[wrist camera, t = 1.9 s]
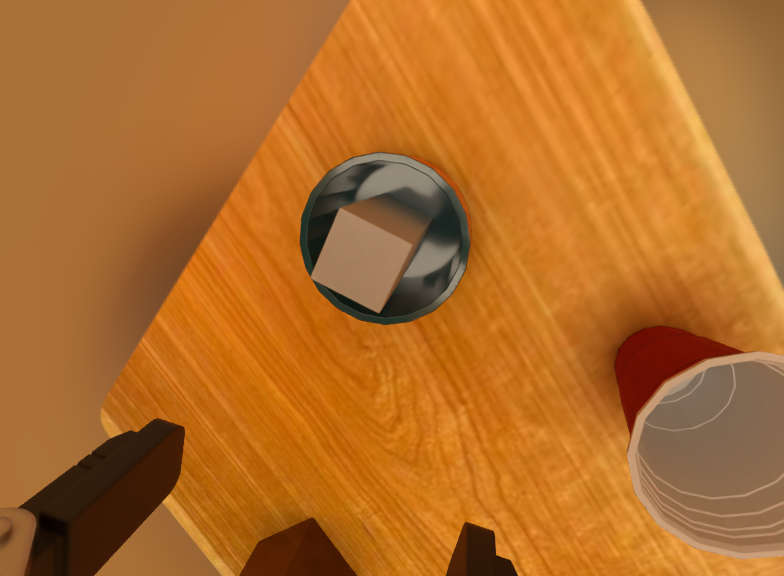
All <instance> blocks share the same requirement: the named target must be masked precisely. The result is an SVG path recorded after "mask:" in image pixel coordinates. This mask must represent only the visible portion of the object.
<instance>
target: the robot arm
mask: <svg viewBox="0 0 784 576" xmlns="http://www.w3.org/2000/svg"><path fill="white" fill-rule="evenodd" d="M184 437H185V429H184V427H183V426H180V425H177V424H174V423H171V422H168V421H165V420H162V419H159V418H157V419H154V420H153V421H151V422H150V423H149V424H147V425H146V426H145V427H144V428H142V429H141V430H140V431H139V432H134V431H131V430H130V431H128V432H125V433H123V434H120V435H118V436H115V437H113V438H111V439H109V440H107V441H106V442H105V443H103V444H102V445H101V446H99V447H98V448H97V449H95V450H94V451H93V452H92V454H91V455H88V456H86V457H85V458H84V459H82V460H81V461H79V463H78V464H77V465H76V466H73V467H72V468H70V469H69V470H68V471H66V472H65V473H64V474H62V475H61V476H60V477H58V478H57V479H56V480H54V481H53V482H52V483H50V484H49V485H48V486H46V487H45V488H44V489H42V490H41V491H40V492H39V493H37V494H36V495H35V496H33V497H32V498H31V499H29V500H28V501H27V502H25V503H24V504H22V505H21V506H20V507H18V508H1V509H0V576H94V575H95V574H96V573H97V572H98V571H99V570H100V568H101V567H102V566H103V565H104V564H105V563H106V562H107V561H108V560H109V559H110V558H111V556H113V554H114V553H115V552H116V551H117V550H118V549H119V548H120V547H121V546H122V545H123V543H125V541H126V540H127V539H128V538H129V537H130V536H131V535H132V534H133V533H134V532H135V531H136V530H137V528H138V527H139V526H140V525H141V524H142V523H143V522H144V521H145V520H146V519H147V518H148V517H149V515H150V514H151V513H152V512H153V511H154V510H155V509H156V508H157V507H158V506H159V504H161V502H162V501H163V500H164V499H165V498H166V497H167V496H168V495H169V494H170V492H171V491H172V490H173V488H174V486H175V485H176V483H177V480H178V478H179V475H180V471H181V464H182V455H183V446H184ZM446 576H518V575H517V573H516V571H515V568H514V566H513V564H512V562H511V560H508V559H505V558H502V557H499V556H496V547H495V534H494V531H492V530H489V529H486V528H483V527H480V526H477V525H474V524H471V523H468V522H465V523H464V525H463V528H462V530H461V533H460V536H459V539H458V541H457V544H456V547H455V550H454V552H453V555H452V558H451V561H450V564H449V567H448V570H447V574H446Z"/></svg>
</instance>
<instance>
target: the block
mask: <svg viewBox="0 0 784 576" xmlns="http://www.w3.org/2000/svg"><path fill="white" fill-rule="evenodd" d="M432 220H433V218H432V217H430V216H428V215H426V214H424V213H422V212H420V211H418V210H416V209H414V208H412V207H410V206H408V205H406V204H404V203H402V202H400V201H398V200H396V199H394V198H392V197H390V196H388V195H386V194H384V193H383V194H380V195H377V196H374V197H371V198H368V199H365V200H362V201H359V202H356V203H353V204H350V205H347V206H344V207H341V208H339V211H338V213H337V215H336V218H335V220H334V222H333V225H332V227H331V230H330V232H329V234H328V237H327V239H326V241H325V244H324V246H323V249H322V251H321V253H320V256H319V258H318V260H317V263H316V265H315V267H314V270H313V272H312V275H311V277H310V278H311V279H313V280H314V281H316V282H318V283H320V284H322V285H324V286H326V287H328V288H330V289H332V290H334V291H336V292H338V293H340V294H342V295H344V296H346V297H348V298H350V299H352V300H354V301H355V302H357V303H359V304H361V305H363V306H365V307H367V308H369V309H371V310H373V311H375V312H377V313H380V312H381V310H382V309H383V307H384V305H385V304H386V302H387V301H388V299H389V298H390V296H391V294H392V293H393V291H394V290H395V288H396V287H397V285H398V283H399V282H400V280H401V279H402V277H403V276H404V274H405V272H406V271H407V269H408V268H409V266H410V264H411V262H412V260H413V258H414V256H415V254H416V252H417V250H418V248H419V246H420V244H421V242H422V240H423V238H424V236H425V234H426V232H427V230H428V228H429V226H430V224H431V222H432Z"/></svg>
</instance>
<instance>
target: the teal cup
mask: <svg viewBox="0 0 784 576" xmlns="http://www.w3.org/2000/svg"><path fill="white" fill-rule="evenodd" d="M383 193H384V194H386V195H388V196H390V197H392V198H394V199H396V200H398V201H400V202H402V203H404V204H406V205H408V206H410V207H412V208H414V209H416V210H418V211H420V212H422V213H424V214H426V215H428V216H430V217H432V218H433V220H432V222H431V224H430V226H429V228H428V230H427V232H426V234H425V236H424V238H423V240H422V242H421V244H420V246H419V248H418V250H417V252H416V254H415V256H414V258H413V260H412V262H411V264H410V266H409V268H408V269H407V271H406V272H405V274H404V276H403V277H402V279H401V280H400V282H399V283H398V285H397V287H396V288H395V290H394V291H393V293H392V294H391V296H390V298H389V299H388V301H387V302H386V304H385V305H384V307H383V309H382V310H381V312H380V313H377V312H375V311H373V310H371V309H369V308H367V307H365V306H363V305H361V304H359V303H357V302H355V301H354V300H352V299H350V298H348V297H346V296H344V295H342V294H340V293H338V292H336V291H334V290H332V289H330V288H328V287H326V286H324V285H322V284H320V283H318V282H316V281H314V280H313V279H312V280H313V282H314V284H315V285H316V287H317V289H318V290H319V292H320V293H321V294H322V295H324V296H325V297H326V298H327V299H328V300H329V301H330V302H331V303H332V304H333V305H334V306H335V307H336V308H338V309H339V310H341V311H343V312H345V313H347V314H349V315H351V316H353V317H355V318H356V319H358V320H361V321H366V322H372V323H377V324H383V325H389V324H398V323H406V322H410V321H411V322H412V321H414V320H416V319H418V318H420V317H422V316H425V315H427V314H429V313H431V312H433V311H435V310H436V309H437V308H438V307H439V306H440V305H441V304H442V303H443V302H444V301H445V300H447V299H448V298H449V297H450V296H451V295H452V294H453V293H454V291H455V289H456V287H457V285H458V283H459V282H460V280H461V278H462V276H463V274H464V272H465V270H466V267H467V261H468V255H469V250H470V244H471V224H470V215H469V210H468V205H467V203H466V201H465V199H464V196H463V195H462V193H461V191H460V189H459V187H458V185H457V184H456V183H455V182H454V181H453V180H452V179H451V178H450V177H449V176H448V175H447V173H445V172H444V171H443V170H442V169H441V168H439V167H438V166H436V165H434V164H432V163H431V162H428V161H426V160H424V159H422V158H420V157H417V156H409V155H402V154H394V153H385V152H376V153H371V154H366V155H361V156H356V157H352V158H350V159H348V160H347V161H345V162H343V163H342V164H340V165H338V166H337V167H335V168H333V169H332V170H330V171H329V172H327V174H326V175H325V176H324V177H323V178H322V180H321V181H320V182H319V183H318V184H317V186H316V187H315V188H314V189H313V190H312V192H311V194H310V196H309V199H308V201H307V204H306V206H305V209H304V211H303V214H302V217H301V230H300V247H301V251H302V255H303V259H304V264H305V268H306V270H307V272H308V273H309V275H310V277H311V275H312V272H313V270H314V267H315V265H316V263H317V260H318V258H319V256H320V253H321V251H322V249H323V246H324V244H325V241H326V239H327V237H328V234H329V232H330V230H331V227H332V225H333V222H334V220H335V218H336V215H337V213H338V211H339V208H341V207H344V206H347V205H350V204H353V203H356V202H359V201H362V200H365V199H368V198H371V197H374V196H377V195H380V194H383Z"/></svg>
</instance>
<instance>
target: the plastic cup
mask: <svg viewBox="0 0 784 576" xmlns="http://www.w3.org/2000/svg"><path fill="white" fill-rule="evenodd" d="M614 367H615V373H616V378H617V383H618V386H619V392H620V398H621V403H622V406H623V410H624V414H625V418H626V421H627V425H628V429H629V432H630V440H629V444H628V448H627V458H628V463H629V468H630V473H631V478H632V483H633V488H634V493H635V494H636V496H637V497H638V498H639V500H640V501H641V502H642V504H643V505H644V507H645V508H646V509H647V511H648V512H649V513H650V515H651V516H652V517H653V519H654V520H655V522H656V523H657V524H658V525H659V526H660V527H662V528H663V529H665V530H667V531H668V532H670V533H671V534H673V535H675V536H676V537H678V538H679V539H681V540H682V541H684V542H686V543H687V544H689V545H690V546H692V547H694V548H695V549H700V550H704V551H708V552H712V553H716V554H721V555H725V556H729V557H733V558H738V559H751V558H764V557H778V556H784V355H778V354H772V353H766V352H761V351H751V352H743V351H740V350H737V349H735V348H732V347H729V346H727V345H724V344H721V343H719V342H716V341H713V340H711V339H708V338H705V337H700V336H696V335H694V334H692V333H689V332H687V331H685V330H682V329H677V328H671V327H665V326H657V327H651V328H645V329H642V330H640V331H638V332H637V333H635V334H633V335H631V336H630V337H628V338H627V340H626V341H625V342H624V343H623V344H622V346H621V347H620V348H619V350H618V353H617V357H616V360H615V366H614Z"/></svg>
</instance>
